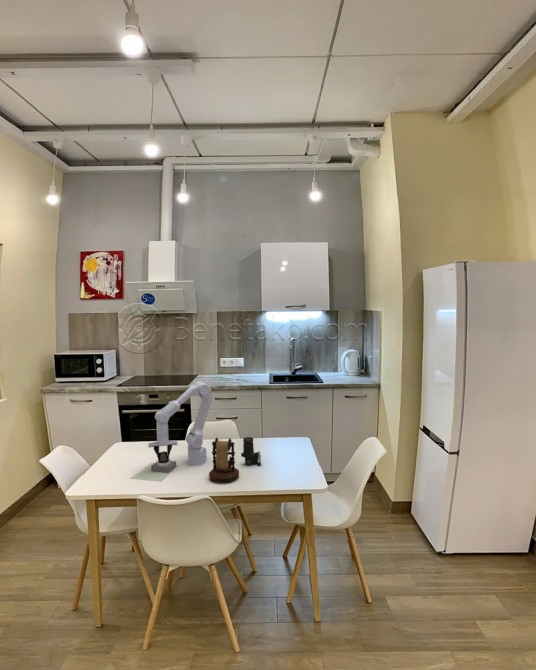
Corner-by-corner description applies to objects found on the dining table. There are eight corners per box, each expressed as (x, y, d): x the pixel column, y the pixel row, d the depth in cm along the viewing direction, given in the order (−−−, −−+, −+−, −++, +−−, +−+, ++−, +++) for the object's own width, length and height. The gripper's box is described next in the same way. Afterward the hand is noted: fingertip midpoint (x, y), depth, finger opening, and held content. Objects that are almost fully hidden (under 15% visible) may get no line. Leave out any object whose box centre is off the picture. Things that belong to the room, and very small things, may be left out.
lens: (169, 461, 217) (168, 451, 216) (165, 464, 213) (164, 454, 212) (162, 461, 218) (161, 450, 217) (158, 464, 214) (157, 453, 213)
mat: (179, 466, 220) (179, 465, 220) (161, 482, 201) (160, 481, 201) (151, 463, 224) (151, 463, 224) (130, 479, 205) (129, 478, 205)
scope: (260, 440, 217) (241, 441, 215) (261, 466, 218) (242, 467, 217) (258, 435, 225) (240, 436, 224) (259, 460, 226) (240, 461, 225)
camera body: (176, 466, 218) (176, 459, 218) (169, 473, 210) (168, 465, 210) (159, 465, 221) (158, 457, 220) (151, 471, 213) (151, 463, 213)
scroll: (205, 483, 199) (203, 442, 197) (214, 470, 214) (213, 432, 212) (235, 484, 197) (233, 443, 195) (242, 472, 211) (241, 433, 209)
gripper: (177, 430, 219) (178, 455, 220) (148, 432, 217) (149, 458, 218) (176, 434, 212) (177, 460, 214) (147, 437, 210) (148, 463, 211)
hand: (163, 459), depth 215 cm, fingers closed on lens, 4 cm apart
